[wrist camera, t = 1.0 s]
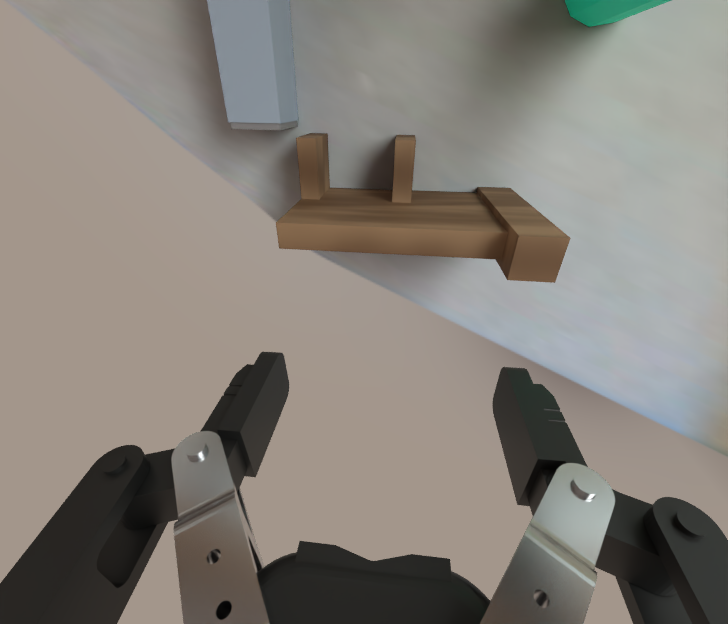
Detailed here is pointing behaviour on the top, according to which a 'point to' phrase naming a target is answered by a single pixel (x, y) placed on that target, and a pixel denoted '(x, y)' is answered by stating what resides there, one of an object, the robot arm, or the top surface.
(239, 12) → the light blue rectangular bar
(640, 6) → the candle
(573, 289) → the top surface
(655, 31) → the top surface
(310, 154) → the wooden holder stand
